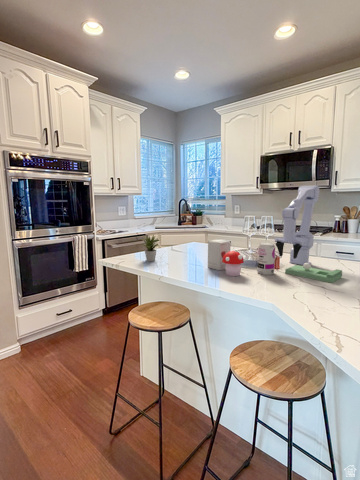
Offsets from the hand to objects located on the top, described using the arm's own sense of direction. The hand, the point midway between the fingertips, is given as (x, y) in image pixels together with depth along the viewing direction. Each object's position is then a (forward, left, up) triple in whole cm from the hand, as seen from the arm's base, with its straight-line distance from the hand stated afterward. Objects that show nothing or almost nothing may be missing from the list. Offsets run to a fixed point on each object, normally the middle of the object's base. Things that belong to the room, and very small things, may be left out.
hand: (287, 257), depth 143 cm
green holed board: (+13, 0, -7) cm, 15 cm away
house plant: (-67, -39, -7) cm, 78 cm away
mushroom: (-15, -27, -7) cm, 32 cm away
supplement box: (-28, -22, -7) cm, 36 cm away
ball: (+10, 0, -3) cm, 10 cm away
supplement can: (-5, -13, -7) cm, 16 cm away
